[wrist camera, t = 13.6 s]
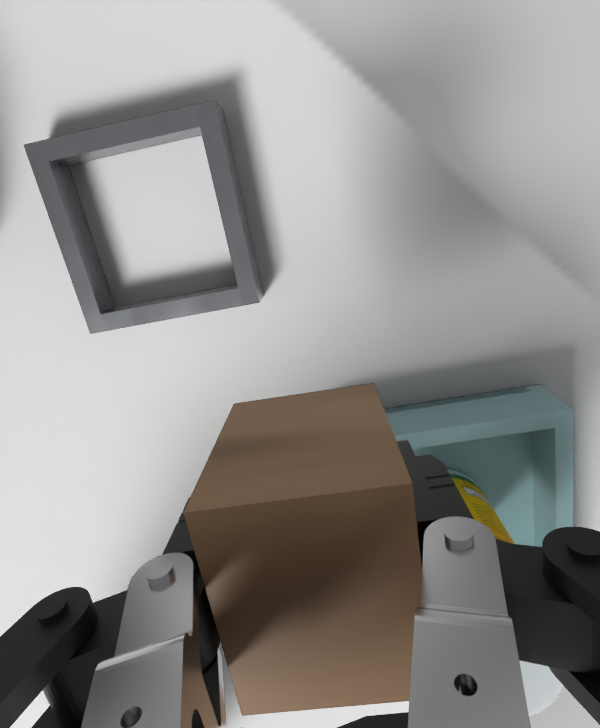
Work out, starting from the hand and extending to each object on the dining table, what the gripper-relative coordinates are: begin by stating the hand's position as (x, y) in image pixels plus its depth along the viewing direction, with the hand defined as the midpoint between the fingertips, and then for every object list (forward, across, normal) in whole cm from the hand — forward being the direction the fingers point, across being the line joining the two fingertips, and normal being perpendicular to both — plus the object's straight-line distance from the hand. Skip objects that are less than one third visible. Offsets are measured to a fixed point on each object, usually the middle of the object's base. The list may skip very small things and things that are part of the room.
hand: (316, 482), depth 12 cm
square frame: (+10, +6, -8) cm, 14 cm away
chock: (+1, 0, 0) cm, 1 cm away
